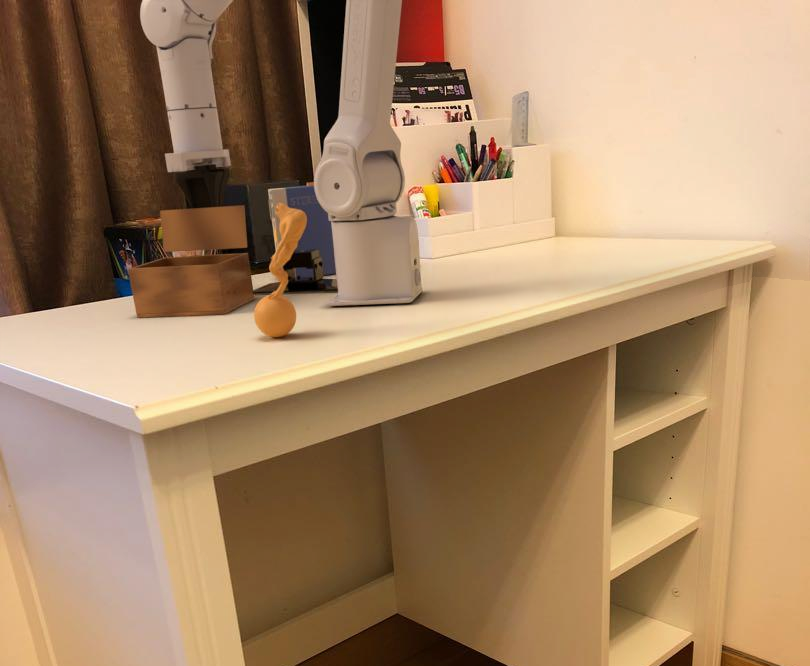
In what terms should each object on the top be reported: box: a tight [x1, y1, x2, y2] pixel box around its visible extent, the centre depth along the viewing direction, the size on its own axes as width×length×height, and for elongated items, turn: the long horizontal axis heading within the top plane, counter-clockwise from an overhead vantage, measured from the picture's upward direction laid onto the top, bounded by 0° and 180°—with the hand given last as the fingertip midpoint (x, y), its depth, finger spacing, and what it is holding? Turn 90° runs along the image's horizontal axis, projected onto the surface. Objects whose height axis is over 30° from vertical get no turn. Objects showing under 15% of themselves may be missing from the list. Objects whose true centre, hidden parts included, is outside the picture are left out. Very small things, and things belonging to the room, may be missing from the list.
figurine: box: [253, 203, 307, 338], centre depth 82 cm, size 8×6×12 cm
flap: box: [159, 204, 248, 253], centre depth 105 cm, size 11×5×1 cm
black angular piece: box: [253, 249, 338, 295], centre depth 111 cm, size 12×7×5 cm, turn 76°
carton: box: [127, 252, 255, 319], centre depth 103 cm, size 11×10×5 cm
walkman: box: [267, 181, 336, 277], centre depth 120 cm, size 8×3×12 cm, turn 112°
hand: (211, 233), depth 107 cm, fingers closed
